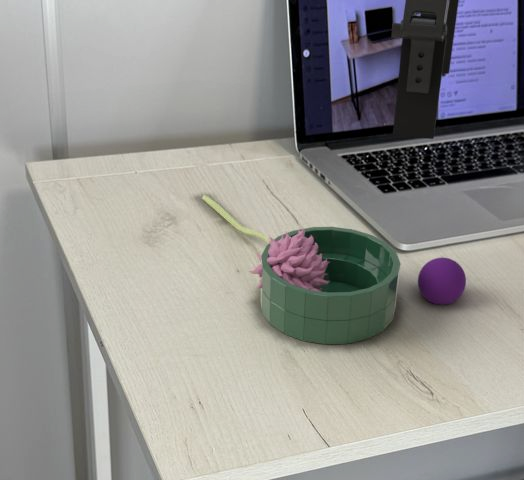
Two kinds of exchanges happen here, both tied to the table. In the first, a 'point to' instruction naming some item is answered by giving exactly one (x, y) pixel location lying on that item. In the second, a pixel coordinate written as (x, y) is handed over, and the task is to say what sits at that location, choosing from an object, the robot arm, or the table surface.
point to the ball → (441, 281)
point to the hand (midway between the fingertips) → (423, 100)
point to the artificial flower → (287, 255)
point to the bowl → (336, 289)
